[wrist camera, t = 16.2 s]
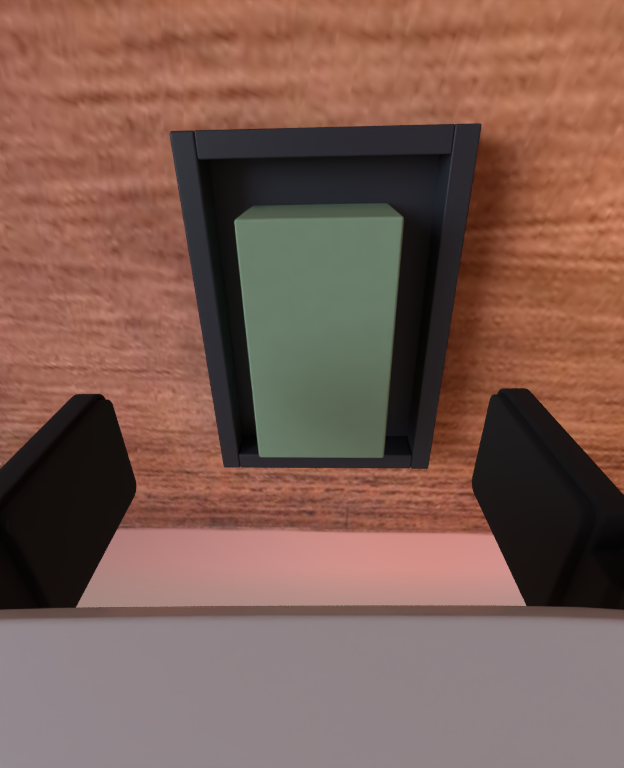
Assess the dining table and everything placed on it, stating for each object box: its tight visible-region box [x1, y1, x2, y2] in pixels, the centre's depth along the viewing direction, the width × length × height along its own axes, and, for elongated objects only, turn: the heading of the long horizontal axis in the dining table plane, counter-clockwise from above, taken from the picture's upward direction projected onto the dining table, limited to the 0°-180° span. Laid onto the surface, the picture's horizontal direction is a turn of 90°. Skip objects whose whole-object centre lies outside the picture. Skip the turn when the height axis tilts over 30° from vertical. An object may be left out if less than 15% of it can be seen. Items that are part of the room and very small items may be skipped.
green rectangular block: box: [234, 203, 404, 458], centre depth 16 cm, size 5×9×4 cm, turn 1°
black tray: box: [170, 123, 481, 469], centre depth 17 cm, size 10×14×2 cm
